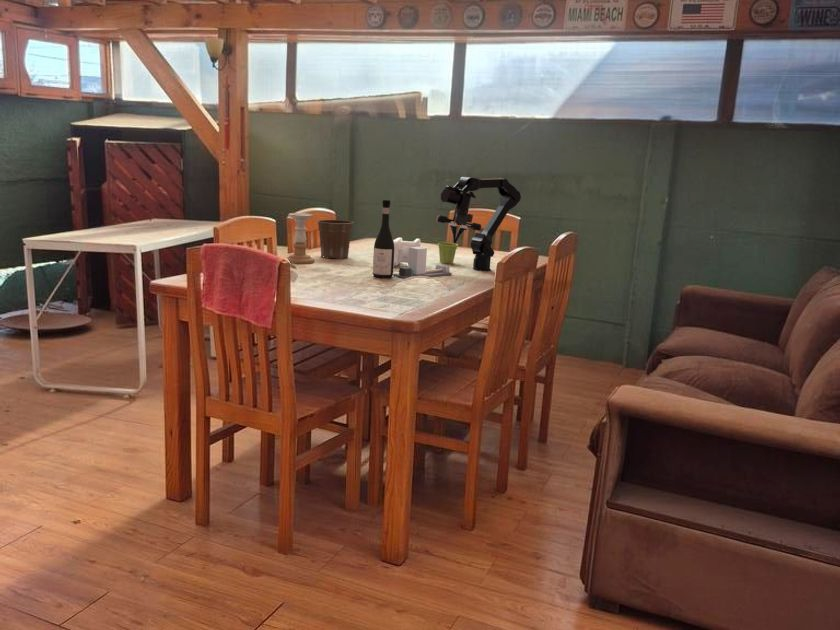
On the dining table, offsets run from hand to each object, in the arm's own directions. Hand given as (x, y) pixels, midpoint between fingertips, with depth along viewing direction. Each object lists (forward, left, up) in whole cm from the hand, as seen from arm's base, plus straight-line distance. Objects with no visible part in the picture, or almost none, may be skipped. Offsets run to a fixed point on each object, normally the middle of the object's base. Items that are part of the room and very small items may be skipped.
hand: (454, 243), depth 305 cm
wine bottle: (+34, +16, -12) cm, 39 cm away
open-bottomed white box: (+19, +13, -11) cm, 26 cm away
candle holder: (+63, -18, -12) cm, 67 cm away
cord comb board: (+16, +11, -12) cm, 23 cm away
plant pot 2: (-4, -22, -12) cm, 26 cm away
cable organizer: (+18, -12, -12) cm, 25 cm away
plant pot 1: (+46, -33, -12) cm, 58 cm away
